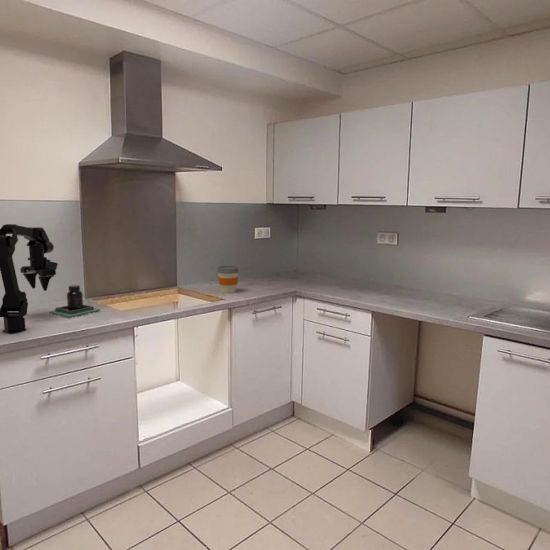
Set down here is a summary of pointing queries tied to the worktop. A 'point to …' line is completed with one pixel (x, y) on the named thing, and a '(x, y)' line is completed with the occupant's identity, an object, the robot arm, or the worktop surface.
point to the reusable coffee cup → (228, 278)
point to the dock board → (69, 314)
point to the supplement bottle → (74, 298)
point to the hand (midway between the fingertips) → (39, 289)
